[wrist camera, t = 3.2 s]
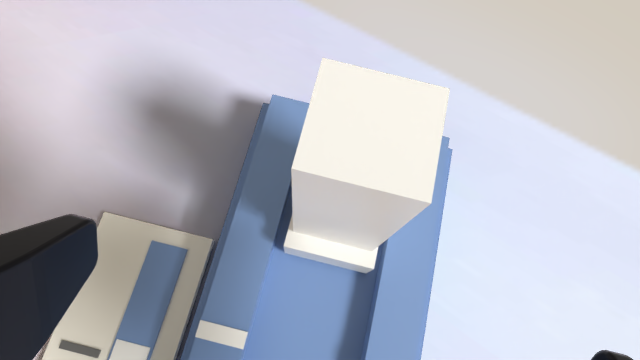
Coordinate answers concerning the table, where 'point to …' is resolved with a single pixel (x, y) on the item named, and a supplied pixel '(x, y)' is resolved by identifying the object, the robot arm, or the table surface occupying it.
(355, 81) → the switch tab
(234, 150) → the table surface
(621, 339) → the table surface
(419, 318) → the blue rectangular tray
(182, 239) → the label tile
